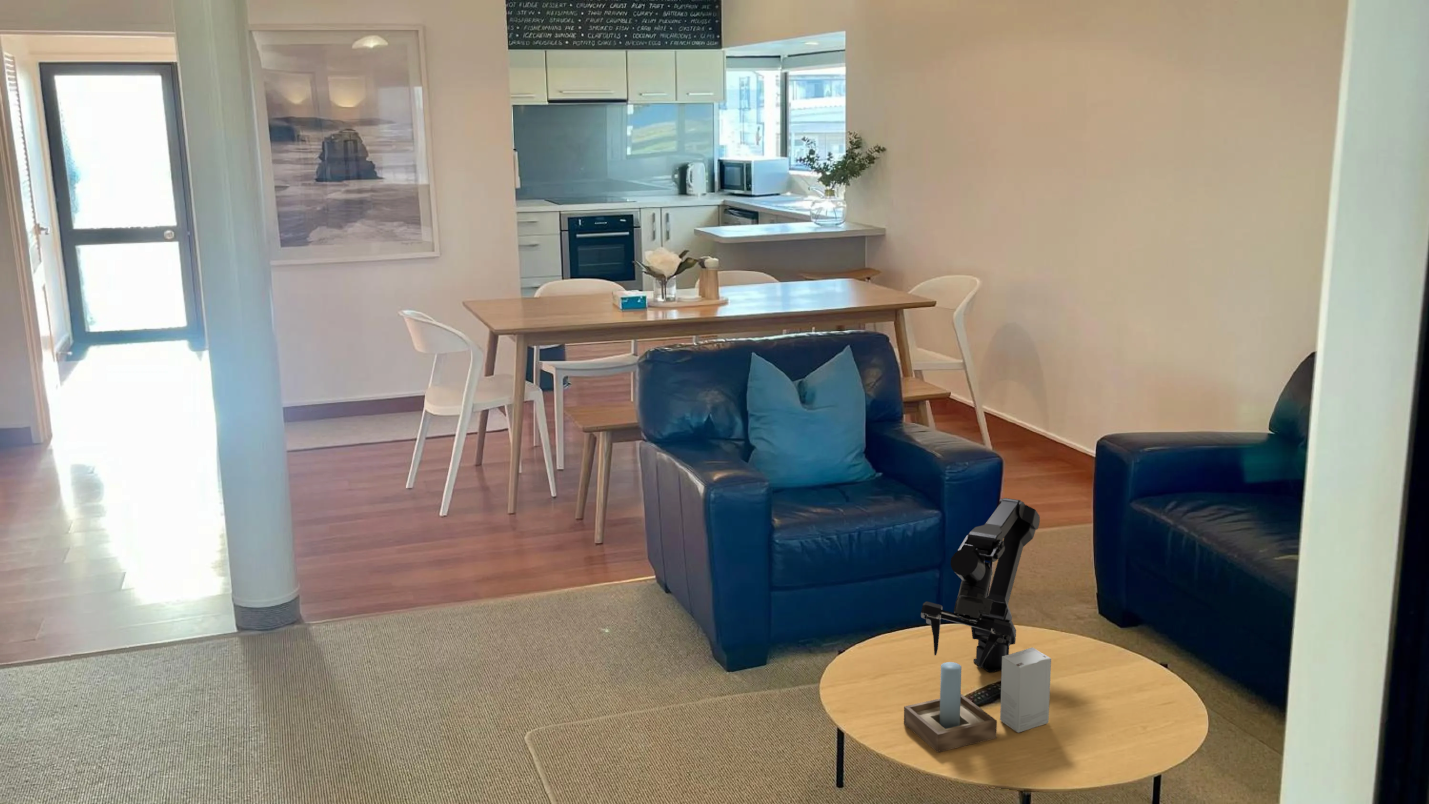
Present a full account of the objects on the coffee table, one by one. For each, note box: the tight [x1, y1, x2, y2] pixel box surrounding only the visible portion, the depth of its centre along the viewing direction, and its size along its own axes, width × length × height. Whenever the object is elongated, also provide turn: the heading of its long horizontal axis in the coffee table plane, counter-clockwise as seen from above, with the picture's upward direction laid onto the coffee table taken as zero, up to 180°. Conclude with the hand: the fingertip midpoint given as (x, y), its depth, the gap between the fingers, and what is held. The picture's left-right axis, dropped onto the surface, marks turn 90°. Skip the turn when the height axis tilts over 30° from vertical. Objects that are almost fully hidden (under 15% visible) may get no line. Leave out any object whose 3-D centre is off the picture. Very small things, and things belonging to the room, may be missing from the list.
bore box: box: [903, 693, 998, 753], centre depth 237 cm, size 14×13×4 cm
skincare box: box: [999, 647, 1052, 733], centre depth 238 cm, size 8×6×15 cm
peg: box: [939, 661, 962, 729], centre depth 235 cm, size 4×4×14 cm
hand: (957, 660), depth 244 cm, fingers open, 9 cm apart
